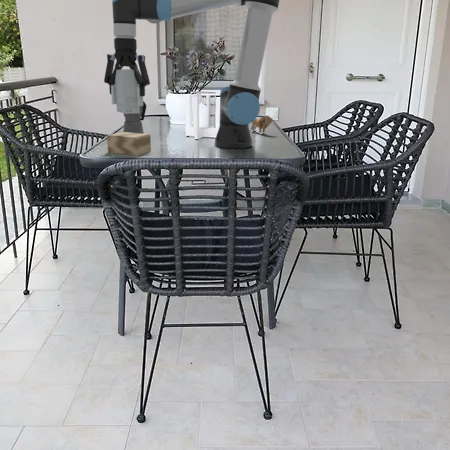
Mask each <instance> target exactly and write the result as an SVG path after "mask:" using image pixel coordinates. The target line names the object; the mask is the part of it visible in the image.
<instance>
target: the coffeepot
mask: <svg viewBox="0 0 450 450" xmlns="http://www.w3.org/2000/svg"><path fill="white" fill-rule="evenodd" d="M146 111H147V104H146V102H145V101H144V100H143V106H140V113H139V114H133V113H129V114H125V113H123V117H124V122H123V124H124V125H123V130H122V132H130V133H141V134H145V133H144V128H143V123H142V121H144V120H145V116H146V115H145V114H146Z"/></svg>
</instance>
